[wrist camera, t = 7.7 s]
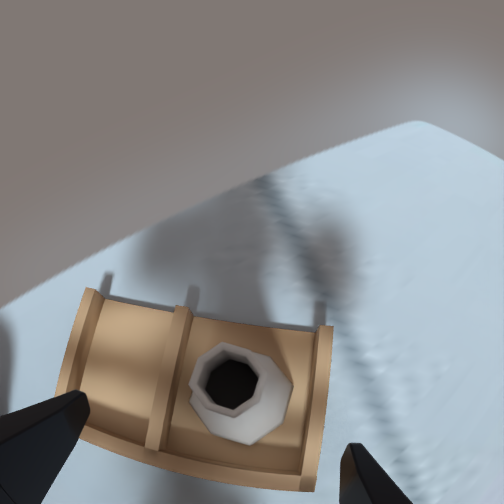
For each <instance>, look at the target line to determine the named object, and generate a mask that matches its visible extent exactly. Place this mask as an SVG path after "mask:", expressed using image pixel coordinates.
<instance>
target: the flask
mask: <svg viewBox="0 0 504 504" xmlns="http://www.w3.org/2000/svg"><path fill="white" fill-rule="evenodd" d="M188 385H189V386H190V388H191V389H192V394H191V397H190V399H189V404H190V405H191V407H192V408H193V410H194V411H195V412H196V414H197V415H198V417H199V418H200V420H201V421H202V422H203V424H204V425H205V426H206V428H207V429H208V430H209V432H210V433H211V434H213V435H216V436H219V437H222V438H225V439H228V440H231V441H235V442H238V443H242V444H245V445H249V446H251V445H252V444H254V443H255V442H257V441H258V440H260V439H261V438H263V437H264V436H266V435H267V434H269V433H270V432H271V431H273V430H274V429H276V428H277V427H278V426H280V425H281V424H283V422H284V419H285V416H286V412H287V409H288V406H289V402H290V399H291V395H292V392H293V388H294V385H293V384H292V383H291V382H290V381H289V379H288V378H287V377H286V376H285V374H284V373H283V372H282V371H281V370H280V368H279V367H278V366H277V365H276V363H275V362H274V361H273V360H272V358H271V357H270V356H267V355H263V354H259V353H256V352H252V351H251V350H249V349H245V348H242V347H238V346H235V345H232V344H228V343H225V342H221V343H219V344H218V345H216V346H215V347H213V348H212V349H210V350H209V351H207V352H206V353H204V354H203V355H201V356H200V357H198V359H197V362H196V365H195V367H194V370H193V373H192V376H191V379H190V381H189V384H188Z"/></svg>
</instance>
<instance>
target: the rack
mask: <svg viewBox="0 0 504 504" xmlns="http://www.w3.org/2000/svg"><path fill="white" fill-rule="evenodd" d="M333 327H334V326H325V325H320V326H319V327H318V329H317V331H316V332H315V333H313V332H304V331H295V330H286V329H278V328H270V327H262V326H255V325H247V324H240V323H233V322H227V321H220V320H214V319H208V318H202V317H196V316H193V314H192V312H191V311H190V309H189V307H184V306H178V305H176V306H175V310H174V313H173V312H167V311H162V310H157V309H152V308H147V307H142V306H137V305H132V304H127V303H122V302H118V301H113V300H108V299H105V298H104V297H103V296H102V295H101V294H100V293H99V292H98V291H96V290H95V289H92V288H87V287H86V288H85V291H84V294H83V297H82V300H81V303H80V306H79V309H78V312H77V315H76V318H75V321H74V324H73V327H72V331H71V334H70V337H69V341H68V344H67V348H66V351H65V355H64V359H63V363H62V366H61V370H60V374H59V379H58V383H57V387H56V392H55V396H54V397H56V396H59V395H62V394H64V393H67V392H70V391H72V390H75V389H77V390H80V391H82V392H85V393H86V395H87V398H88V402H89V405H90V415H89V417H88V419H87V421H86V424H85V426H84V428H83V430H82V432H81V434H80V437H79V438H80V439H82V440H84V441H87V442H89V443H91V444H94V445H96V446H99V447H101V448H103V449H106V450H109V451H111V452H114V453H116V454H119V455H122V456H125V457H128V458H130V459H133V460H136V461H139V462H142V463H146V464H149V465H152V466H155V467H159V468H162V469H166V470H169V471H173V472H177V473H181V474H185V475H189V476H193V477H197V478H202V479H207V480H212V481H217V482H222V483H228V484H234V485H240V486H247V487H255V488H263V489H272V490H283V491H298V492H314V491H315V485H316V480H317V476H316V475H317V469H318V463H319V457H320V451H321V444H322V437H323V430H324V422H325V414H326V406H327V397H328V388H329V378H330V367H331V355H332V342H333ZM221 342H225V343H228V344H232V345H235V346H238V347H242V348H245V349H249V350H251V351H252V352H256V353H259V354H263V355H267V356H270V357H271V358H272V360H273V361H274V362H275V363H276V365H277V366H278V367H279V368H280V370H281V371H282V372H283V373H284V374H285V376H286V377H287V378H288V379H289V381H290V382H291V383H292V384H293V385H294V388H293V392H292V395H291V399H290V402H289V406H288V409H287V412H286V416H285V419H284V422H283V424H281V425H280V426H278V427H277V428H276V429H274V430H273V431H271V432H270V433H269V434H267V435H266V436H264V437H263V438H261V439H260V440H258V441H257V442H255V443H254V444H252V445H251V446H249V445H245V444H242V443H238V442H235V441H231V440H228V439H225V438H222V437H219V436H216V435H213V434H211V433H210V432H209V430H208V429H207V428H206V426H205V425H204V424H203V422H202V421H201V420H200V418H199V417H198V415H197V414H196V412H195V411H194V410H193V408H192V407H191V405H190V404H189V399H190V397H191V394H192V389H191V388H190V386H189V385H188V384H189V381H190V379H191V376H192V373H193V370H194V367H195V365H196V362H197V359H198V357H200V356H201V355H203V354H204V353H206V352H207V351H209V350H210V349H212V348H213V347H215V346H216V345H218V344H219V343H221Z"/></svg>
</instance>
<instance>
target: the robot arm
mask: <svg viewBox="0 0 504 504" xmlns="http://www.w3.org/2000/svg"><path fill="white" fill-rule="evenodd" d="M89 415H90V405H89V402H88V398H87V395H86V393H85V392H82V391H80V390H77V389H75V390H72V391H70V392H67V393H64V394H62V395H59V396H56V397H54V398H51V399H48V400H46V401H43V402H40V403H38V404H35V405H32V406H29V407H26V408H24V409H21V410H18V411H15V412H12V413H9V414H6V415H3V416H1V417H0V504H41V503H42V501H43V499H44V497H45V496H46V494H47V492H48V490H49V489H50V487H51V485H52V484H53V482H54V480H55V478H56V477H57V475H58V473H59V472H60V470H61V468H62V467H63V465H64V463H65V462H66V460H67V458H68V457H69V455H70V453H71V452H72V450H73V448H74V447H75V445H76V443H77V441H78V439H79V437H80V434H81V432H82V430H83V428H84V426H85V424H86V421H87V419H88V417H89ZM339 504H413V503H412V502H411V501H410V500H409V499H408V497H407V496H406V495H405V494H404V493H403V492H402V491H401V489H400V488H399V487H398V486H397V485H396V484H395V482H394V481H393V480H392V479H391V478H390V477H389V475H388V474H387V473H386V472H385V471H384V470H383V468H382V467H381V466H380V465H379V464H378V463H377V461H376V460H375V459H374V458H373V457H372V455H371V454H370V453H369V452H368V451H367V449H366V448H365V447H364V446H363V445H362V444H361V443H349V444H348V445H347V447H346V449H345V451H344V454H343V456H342V458H341V463H340V492H339Z"/></svg>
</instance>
